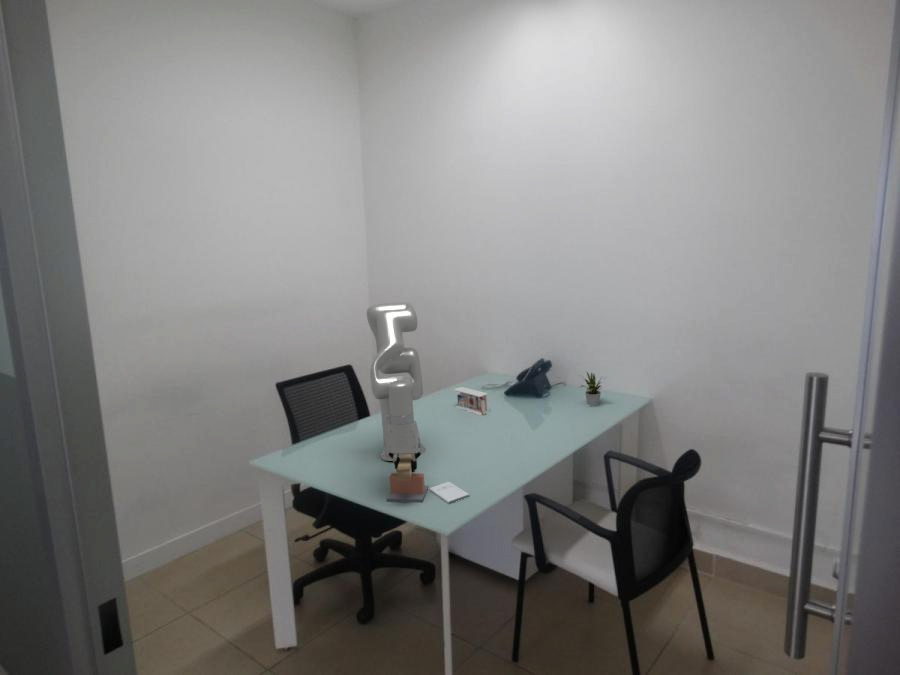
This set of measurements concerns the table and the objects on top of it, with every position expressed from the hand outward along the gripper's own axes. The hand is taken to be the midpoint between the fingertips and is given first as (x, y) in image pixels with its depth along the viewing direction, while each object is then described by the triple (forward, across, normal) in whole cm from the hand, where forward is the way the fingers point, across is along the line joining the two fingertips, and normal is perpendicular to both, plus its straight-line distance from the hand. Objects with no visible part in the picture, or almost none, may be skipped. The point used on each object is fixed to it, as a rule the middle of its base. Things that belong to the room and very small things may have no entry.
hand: (406, 470), depth 188 cm
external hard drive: (+10, +14, +2) cm, 17 cm away
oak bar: (0, 0, 0) cm, 0 cm away
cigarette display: (+9, +11, +88) cm, 90 cm away
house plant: (+9, +67, +96) cm, 117 cm away
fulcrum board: (+9, 0, 0) cm, 9 cm away
